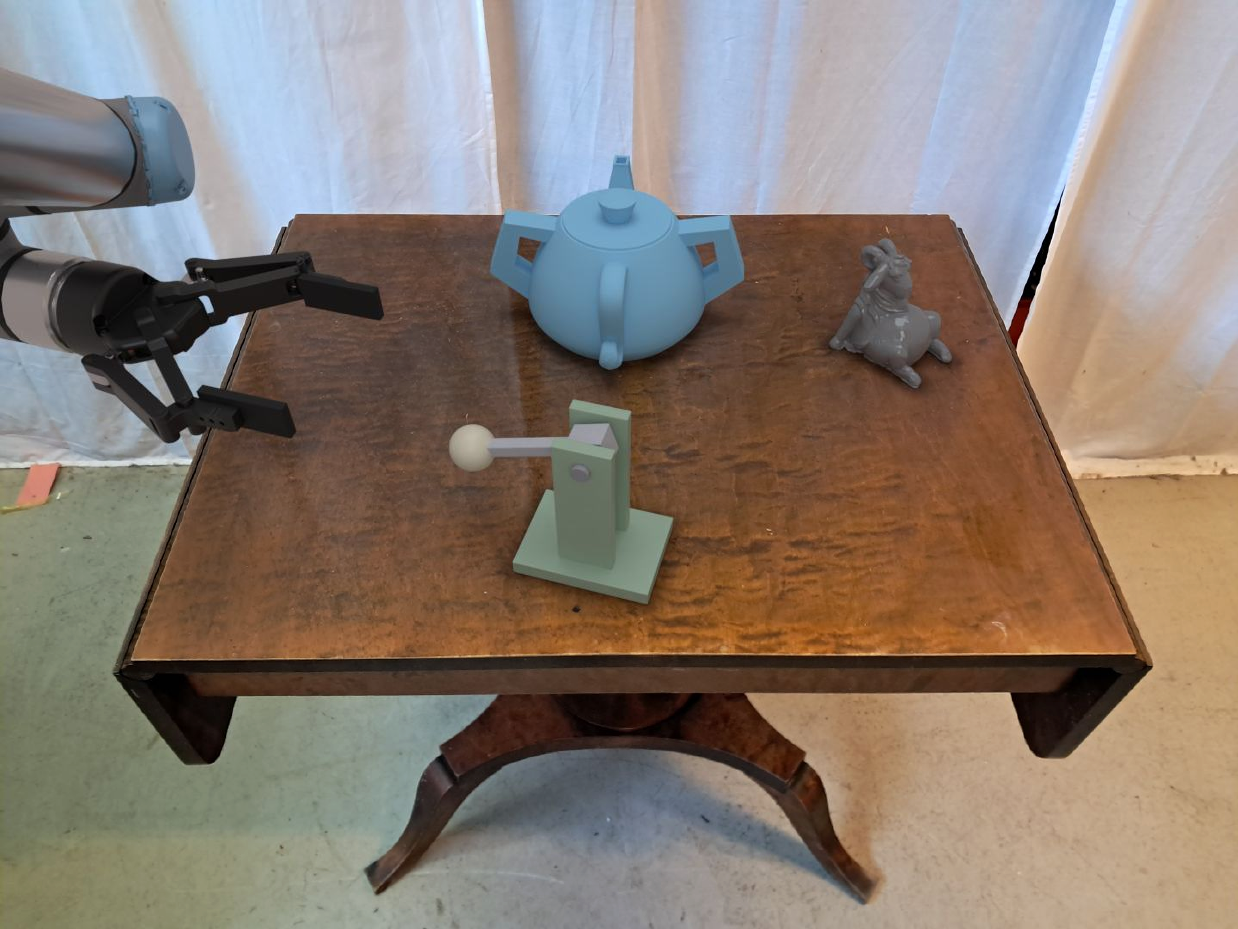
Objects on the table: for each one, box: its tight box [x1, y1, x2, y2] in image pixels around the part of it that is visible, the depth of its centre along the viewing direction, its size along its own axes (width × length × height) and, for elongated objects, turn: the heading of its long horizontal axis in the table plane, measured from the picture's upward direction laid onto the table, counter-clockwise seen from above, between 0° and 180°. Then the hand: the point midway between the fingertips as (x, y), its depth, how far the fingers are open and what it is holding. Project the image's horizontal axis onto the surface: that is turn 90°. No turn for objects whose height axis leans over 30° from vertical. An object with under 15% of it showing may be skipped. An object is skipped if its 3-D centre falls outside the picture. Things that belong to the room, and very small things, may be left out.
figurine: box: [828, 237, 953, 389], centre depth 89 cm, size 8×10×11 cm
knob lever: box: [448, 423, 619, 473], centre depth 70 cm, size 13×4×4 cm, turn 74°
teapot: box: [489, 154, 745, 371], centre depth 92 cm, size 19×19×14 cm
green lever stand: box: [512, 398, 674, 605], centre depth 71 cm, size 11×8×14 cm
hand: (337, 358), depth 69 cm, fingers open, 13 cm apart
